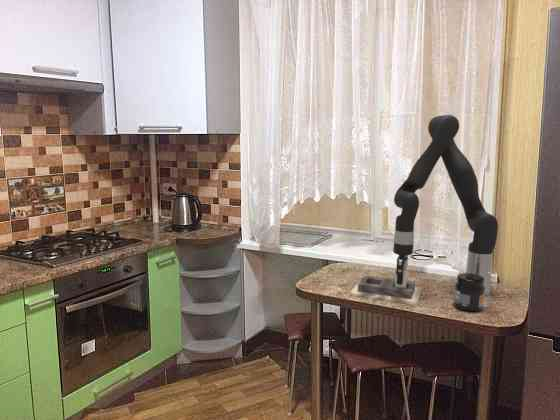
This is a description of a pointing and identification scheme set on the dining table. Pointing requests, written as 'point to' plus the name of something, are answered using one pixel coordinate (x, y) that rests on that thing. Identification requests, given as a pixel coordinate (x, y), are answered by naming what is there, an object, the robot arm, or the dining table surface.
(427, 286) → the dining table surface
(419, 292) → the socket board
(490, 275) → the robot arm
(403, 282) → the white rectangular block
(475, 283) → the supplement container
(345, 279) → the dining table surface
